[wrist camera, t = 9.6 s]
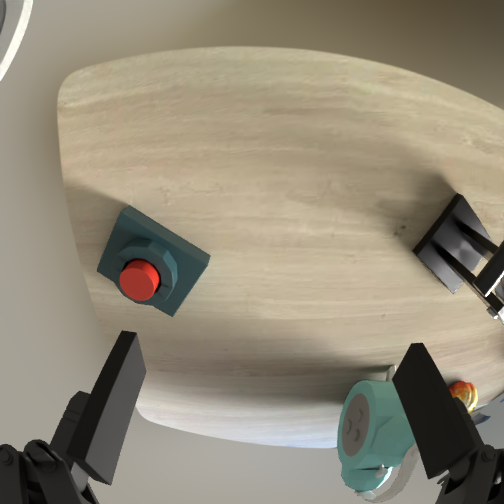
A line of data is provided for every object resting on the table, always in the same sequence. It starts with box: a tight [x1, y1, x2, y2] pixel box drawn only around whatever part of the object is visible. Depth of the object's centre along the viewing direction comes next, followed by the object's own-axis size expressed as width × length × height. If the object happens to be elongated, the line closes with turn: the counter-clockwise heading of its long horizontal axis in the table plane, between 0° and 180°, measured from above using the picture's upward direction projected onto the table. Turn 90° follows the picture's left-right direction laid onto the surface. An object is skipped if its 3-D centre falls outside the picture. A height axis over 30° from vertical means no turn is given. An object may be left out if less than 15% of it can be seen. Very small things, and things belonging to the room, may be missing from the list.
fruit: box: [448, 381, 478, 414], centre depth 41 cm, size 11×10×8 cm
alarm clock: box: [337, 365, 420, 503], centre depth 31 cm, size 17×10×20 cm, turn 171°
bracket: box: [413, 193, 504, 325], centre depth 23 cm, size 10×9×13 cm
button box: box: [97, 205, 210, 317], centre depth 28 cm, size 10×8×4 cm
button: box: [120, 259, 159, 301], centre depth 26 cm, size 4×4×2 cm
